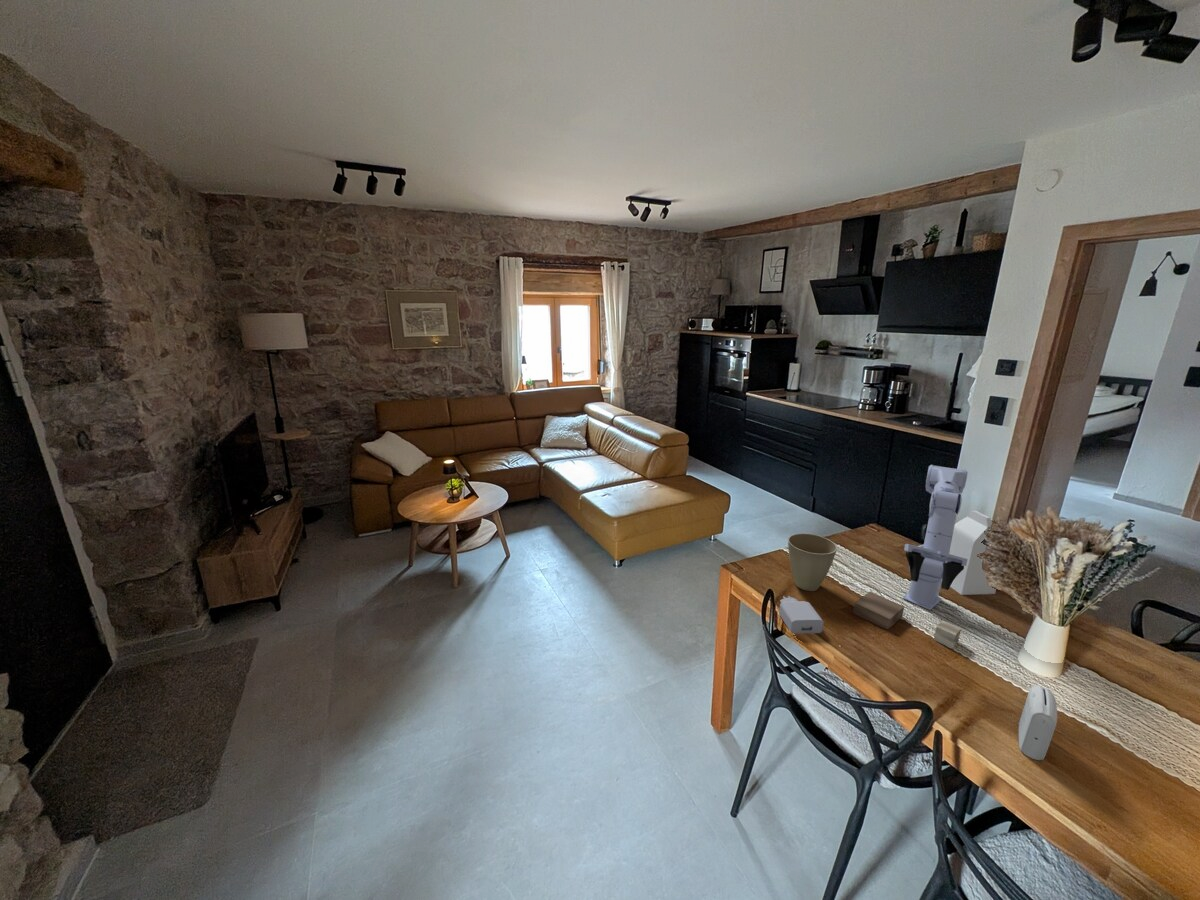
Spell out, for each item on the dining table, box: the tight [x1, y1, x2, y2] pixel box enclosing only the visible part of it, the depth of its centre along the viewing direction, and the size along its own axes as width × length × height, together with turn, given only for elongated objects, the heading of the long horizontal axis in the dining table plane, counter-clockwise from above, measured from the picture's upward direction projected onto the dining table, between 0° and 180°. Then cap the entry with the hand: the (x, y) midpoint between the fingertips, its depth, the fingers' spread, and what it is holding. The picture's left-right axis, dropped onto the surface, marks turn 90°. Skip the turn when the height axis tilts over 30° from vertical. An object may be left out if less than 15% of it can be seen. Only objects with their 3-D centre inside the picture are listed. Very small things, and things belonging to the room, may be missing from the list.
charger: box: [778, 595, 824, 635], centre depth 141 cm, size 5×9×15 cm
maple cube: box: [933, 620, 962, 649], centre depth 130 cm, size 4×4×4 cm
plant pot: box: [787, 532, 838, 592], centre depth 155 cm, size 15×15×16 cm
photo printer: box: [1018, 684, 1058, 761], centre depth 98 cm, size 10×4×12 cm, turn 140°
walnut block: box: [852, 591, 905, 630], centre depth 141 cm, size 10×10×4 cm
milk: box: [949, 509, 997, 596], centre depth 154 cm, size 12×12×26 cm
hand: (929, 585), depth 123 cm, fingers open, 7 cm apart
